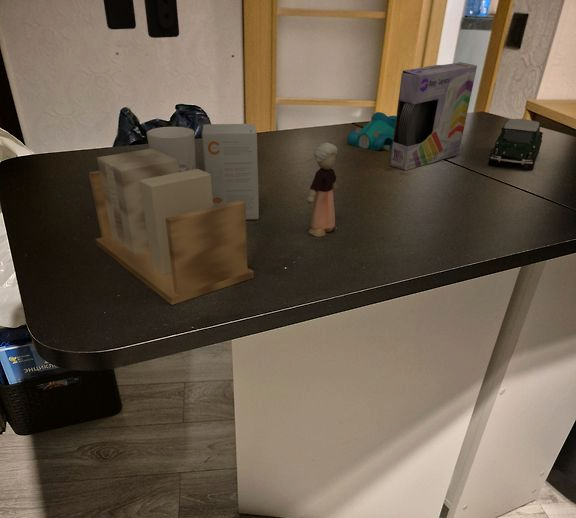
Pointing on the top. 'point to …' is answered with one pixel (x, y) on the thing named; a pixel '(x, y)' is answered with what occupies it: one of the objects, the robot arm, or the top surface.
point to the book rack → (180, 230)
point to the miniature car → (518, 142)
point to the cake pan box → (431, 114)
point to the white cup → (175, 145)
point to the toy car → (375, 133)
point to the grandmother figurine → (323, 191)
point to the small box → (232, 164)
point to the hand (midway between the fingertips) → (142, 32)
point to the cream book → (171, 207)
